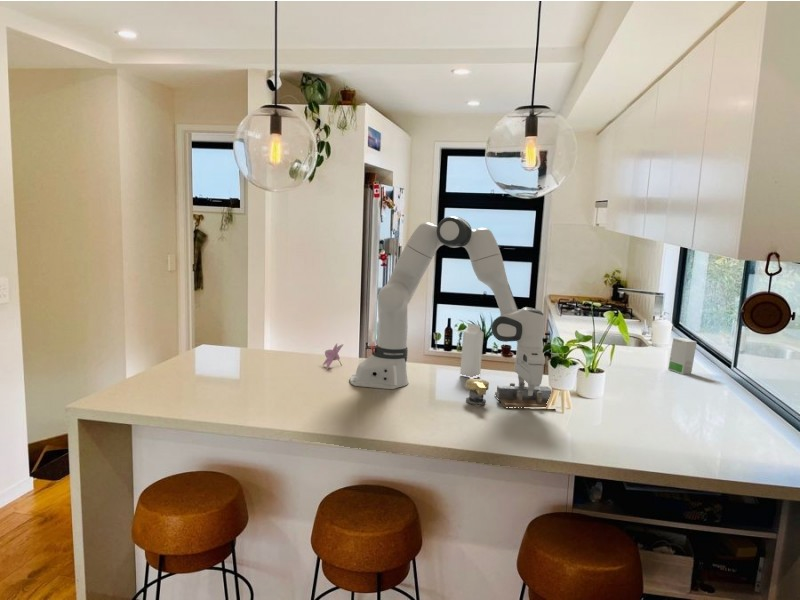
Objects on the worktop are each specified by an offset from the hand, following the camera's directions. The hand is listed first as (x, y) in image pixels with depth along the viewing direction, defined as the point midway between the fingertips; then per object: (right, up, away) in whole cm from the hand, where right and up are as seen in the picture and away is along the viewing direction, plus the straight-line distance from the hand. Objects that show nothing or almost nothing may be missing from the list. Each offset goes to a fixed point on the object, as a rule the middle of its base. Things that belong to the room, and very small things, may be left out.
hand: (525, 391), depth 203 cm
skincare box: (+86, -1, +63) cm, 107 cm away
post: (-18, -4, -2) cm, 19 cm away
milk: (-16, +1, +31) cm, 35 cm away
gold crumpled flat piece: (-18, +1, -5) cm, 18 cm away
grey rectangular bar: (0, -3, 0) cm, 3 cm away
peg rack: (0, -4, +1) cm, 4 cm away
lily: (-73, +5, +34) cm, 81 cm away
